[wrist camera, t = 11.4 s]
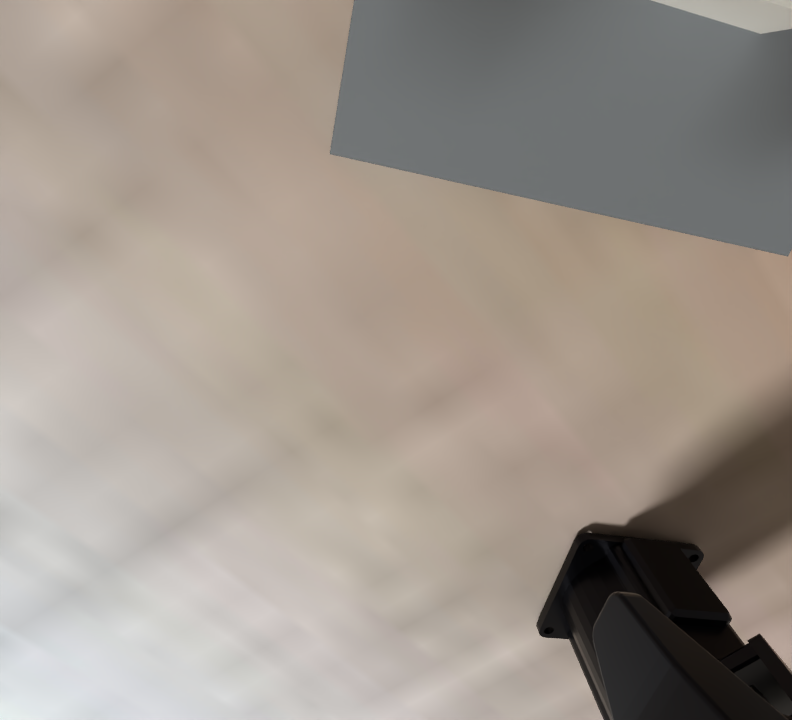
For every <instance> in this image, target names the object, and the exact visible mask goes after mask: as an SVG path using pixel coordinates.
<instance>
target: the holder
mask: <svg viewBox="0 0 792 720" xmlns="http://www.w3.org/2000/svg"><path fill="white" fill-rule="evenodd" d="M330 154H332V155H337V156H341V157H346V158H350V159H355V160H359V161H363V162H368V163H372V164H377V165H381V166H386V167H390V168H395V169H399V170H404V171H408V172H413V173H417V174H422V175H426V176H431V177H435V178H440V179H444V180H448V181H453V182H457V183H462V184H466V185H471V186H475V187H480V188H484V189H489V190H493V191H498V192H502V193H507V194H511V195H516V196H520V197H525V198H529V199H534V200H538V201H542V202H547V203H551V204H556V205H560V206H565V207H569V208H574V209H578V210H583V211H587V212H592V213H596V214H601V215H605V216H610V217H614V218H619V219H623V220H627V221H632V222H636V223H641V224H645V225H650V226H654V227H659V228H663V229H668V230H672V231H677V232H681V233H686V234H690V235H695V236H699V237H704V238H708V239H712V240H717V241H721V242H726V243H730V244H735V245H739V246H744V247H748V248H753V249H757V250H762V251H766V252H771V253H775V254H780V255H784V256H788V255H789V253H790V251H791V249H792V0H354V5H353V11H352V17H351V24H350V30H349V36H348V43H347V49H346V55H345V61H344V68H343V74H342V80H341V87H340V93H339V99H338V106H337V112H336V118H335V125H334V131H333V137H332V144H331V150H330Z"/></svg>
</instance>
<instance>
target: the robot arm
mask: <svg viewBox="0 0 792 720" xmlns="http://www.w3.org/2000/svg"><path fill="white" fill-rule="evenodd" d="M586 544H587V545H586ZM703 557H704V554H703V552H702V551H701V550H700V549H699V547H698V546H697V545H694V544H686V543H677V542H668V541H659V540H649V539H640V538H631V537H622V536H612V535H603V534H594V533H583V534H581V535H579V536H578V537H577V538H576V539H575V541H574V543H573V545H572V547H571V550H570V552H569V554H568V556H567V558H566V561H565V563H564V565H563V567H562V569H561V571H560V574H559V576H558V578H557V580H556V582H555V585H554V587H553V589H552V591H551V593H550V595H549V598H548V600H547V602H546V604H545V606H544V609H543V611H542V613H541V615H540V617H539V619H538V622H537V625H536V626H537V629H538V631H539V634H540V635H541V636H542V637H546V638H561V639H569V640H570V642H571V645H572V647H573V649H574V652H575V654H576V656H577V659H578V661H579V663H580V666H581V668H582V670H583V673H584V675H585V677H586V679H587V682H588V684H589V686H590V689H591V691H592V693H593V696H594V698H595V700H596V703H597V705H598V707H599V710H600V712H601V714H602V717H603V719H604V720H792V671H791V670H790V669H789V668H788V666H787V665H786V664H785V663H784V662H783V661H782V659H781V658H780V657H779V656H778V655H777V653H776V652H775V651H774V650H773V649H772V647H771V646H770V645H769V644H768V643H767V641H766V640H765V639H764V638H763V637H762V636H761V634H758V635H756V636H754V637H753V638H751V639H749V640H747V641H748V642H749V643H748V644H746V645H745V644H744V643H743V642H742V640H741V639H740V638H739V636H738V635H737V634H736V632H735V631H734V630H733V628H732V627H731V626H730V624H729V623H730V622H731V620H732V618H731V616H730V614H729V612H728V610H727V609H726V608H725V606H724V605H723V604H722V602H721V601H720V600H719V599H718V597H717V596H716V595H715V593H714V592H713V591H712V589H711V588H710V587H709V585H708V584H707V583H706V582H705V580H704V579H703V578H702V576H701V575H700V574H699V572H698V571H697V568H698V566H699V565H700V563H701V561H702V560H703Z"/></svg>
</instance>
